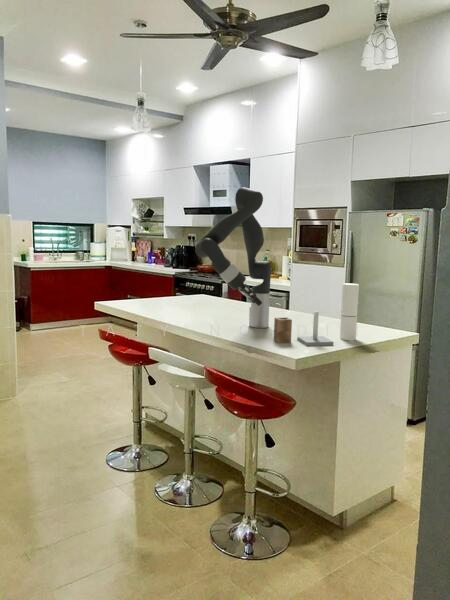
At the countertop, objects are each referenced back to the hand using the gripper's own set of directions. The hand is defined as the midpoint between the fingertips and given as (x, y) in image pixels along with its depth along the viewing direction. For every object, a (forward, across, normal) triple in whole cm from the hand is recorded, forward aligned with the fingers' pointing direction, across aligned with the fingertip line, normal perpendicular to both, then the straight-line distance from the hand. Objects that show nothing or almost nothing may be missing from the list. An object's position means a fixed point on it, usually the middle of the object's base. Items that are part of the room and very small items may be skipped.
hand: (257, 303), depth 209 cm
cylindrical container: (+43, +2, -19) cm, 47 cm away
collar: (+20, 0, +4) cm, 21 cm away
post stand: (+30, -4, -6) cm, 31 cm away
